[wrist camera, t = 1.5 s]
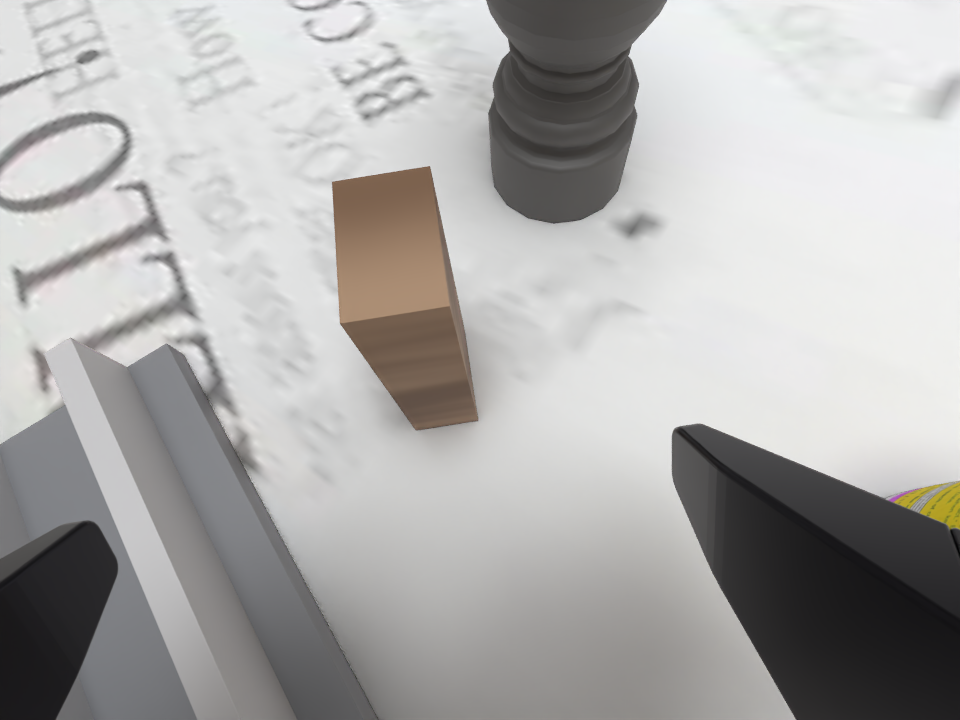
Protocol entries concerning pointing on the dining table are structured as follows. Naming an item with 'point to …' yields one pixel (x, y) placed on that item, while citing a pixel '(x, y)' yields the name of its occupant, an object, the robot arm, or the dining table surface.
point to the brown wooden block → (403, 294)
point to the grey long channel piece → (172, 553)
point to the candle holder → (564, 103)
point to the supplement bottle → (934, 502)
